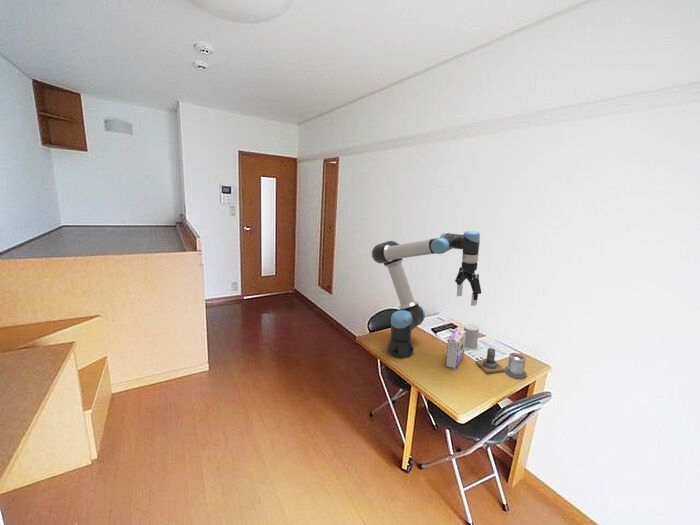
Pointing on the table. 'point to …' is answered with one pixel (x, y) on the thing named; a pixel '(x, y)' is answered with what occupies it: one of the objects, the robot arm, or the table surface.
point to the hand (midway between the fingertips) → (466, 300)
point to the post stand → (490, 363)
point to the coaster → (515, 375)
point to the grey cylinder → (516, 364)
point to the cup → (471, 336)
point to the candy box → (455, 348)
